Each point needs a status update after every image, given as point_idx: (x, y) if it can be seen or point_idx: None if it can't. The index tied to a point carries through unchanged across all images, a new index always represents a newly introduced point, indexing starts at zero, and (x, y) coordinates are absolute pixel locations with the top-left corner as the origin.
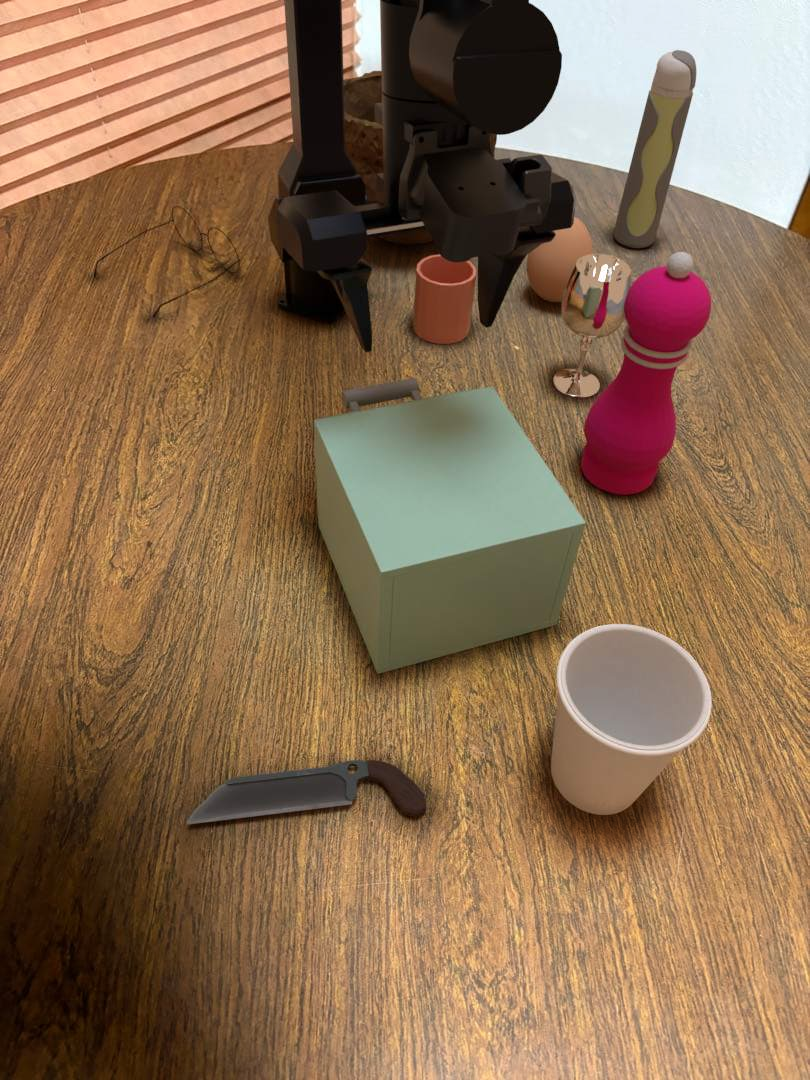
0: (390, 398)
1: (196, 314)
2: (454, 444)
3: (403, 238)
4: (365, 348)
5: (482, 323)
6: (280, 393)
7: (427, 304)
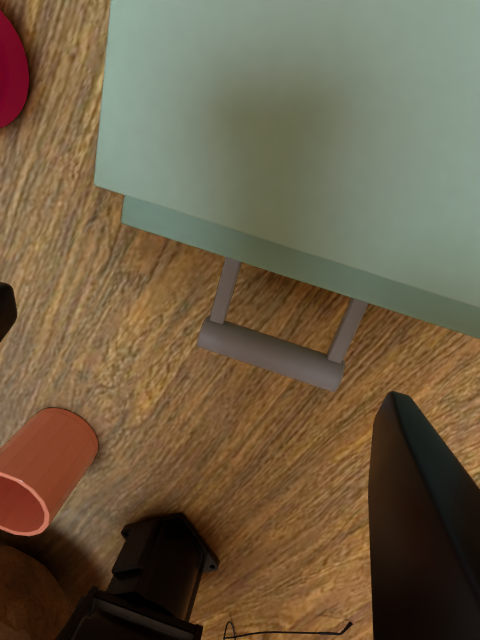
0: (262, 333)
1: (306, 601)
2: (319, 26)
3: (31, 566)
4: (415, 404)
5: (13, 307)
6: (309, 462)
7: (65, 472)
